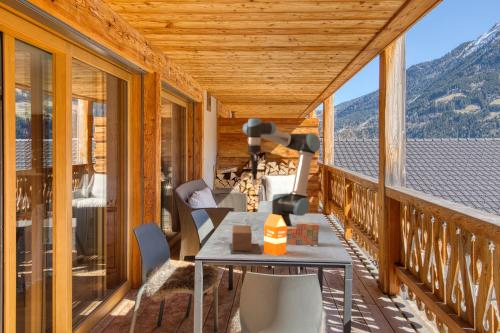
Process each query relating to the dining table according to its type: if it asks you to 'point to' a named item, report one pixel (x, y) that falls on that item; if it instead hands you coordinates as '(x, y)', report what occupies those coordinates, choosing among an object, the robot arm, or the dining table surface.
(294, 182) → the robot arm
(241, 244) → the wooden block
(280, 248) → the orange juice
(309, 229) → the stack of blocks
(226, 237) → the dining table surface
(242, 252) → the mat
